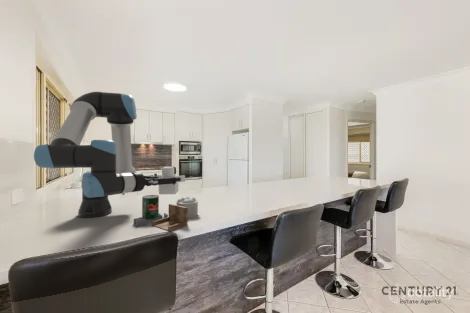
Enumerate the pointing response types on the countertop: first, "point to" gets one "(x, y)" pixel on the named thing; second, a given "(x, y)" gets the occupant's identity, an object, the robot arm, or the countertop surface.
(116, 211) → the countertop surface
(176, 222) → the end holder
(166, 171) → the medicine bottle
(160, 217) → the clip
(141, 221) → the clip
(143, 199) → the canned tomato
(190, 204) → the lumpy-topped squat cylinder
